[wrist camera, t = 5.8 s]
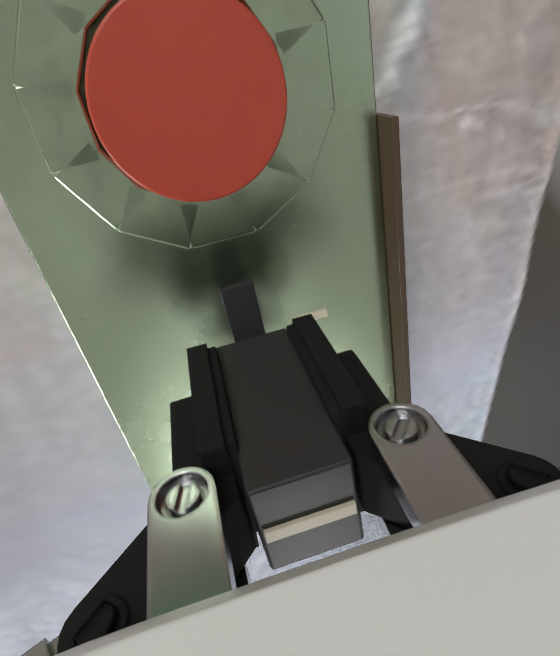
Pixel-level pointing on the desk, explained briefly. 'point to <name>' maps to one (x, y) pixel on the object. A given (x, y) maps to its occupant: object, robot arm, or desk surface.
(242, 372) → the slider
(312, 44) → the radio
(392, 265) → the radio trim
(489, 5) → the desk surface
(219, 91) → the power button
